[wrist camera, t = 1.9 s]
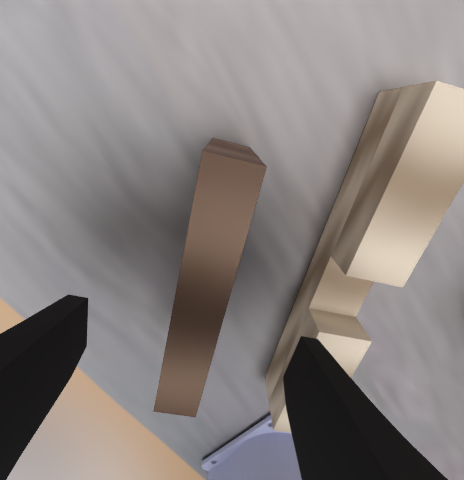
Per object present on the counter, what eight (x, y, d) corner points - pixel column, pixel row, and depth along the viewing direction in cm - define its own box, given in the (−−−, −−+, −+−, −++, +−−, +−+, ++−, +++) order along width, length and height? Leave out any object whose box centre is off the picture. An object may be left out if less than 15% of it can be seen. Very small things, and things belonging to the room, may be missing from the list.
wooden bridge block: (205, 324, 19) (195, 417, 13) (176, 319, 19) (153, 411, 13) (250, 147, 14) (266, 166, 8) (212, 138, 14) (202, 150, 8)
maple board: (301, 382, 21) (317, 436, 18) (265, 376, 21) (273, 430, 17) (433, 107, 14) (509, 102, 10) (379, 91, 13) (436, 80, 10)
